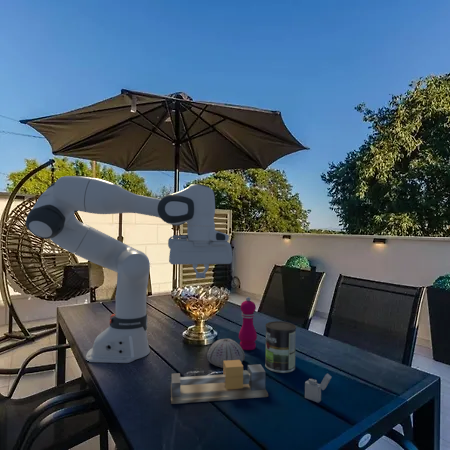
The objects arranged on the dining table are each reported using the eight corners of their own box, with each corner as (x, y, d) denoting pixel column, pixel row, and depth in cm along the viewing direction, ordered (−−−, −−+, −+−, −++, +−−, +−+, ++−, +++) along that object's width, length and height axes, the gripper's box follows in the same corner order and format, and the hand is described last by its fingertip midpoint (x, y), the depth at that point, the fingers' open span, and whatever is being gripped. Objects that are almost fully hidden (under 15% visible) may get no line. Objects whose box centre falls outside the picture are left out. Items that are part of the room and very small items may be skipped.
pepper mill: (255, 351, 127) (256, 299, 127) (237, 349, 128) (237, 298, 128) (257, 344, 134) (258, 295, 134) (240, 343, 135) (240, 294, 135)
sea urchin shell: (239, 354, 124) (240, 332, 124) (248, 369, 111) (248, 345, 111) (204, 356, 122) (205, 334, 122) (209, 372, 109) (209, 347, 109)
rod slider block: (171, 403, 89) (171, 381, 89) (171, 386, 99) (171, 366, 99) (268, 396, 93) (268, 375, 93) (258, 380, 103) (259, 361, 103)
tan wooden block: (225, 389, 94) (226, 367, 94) (223, 381, 98) (223, 360, 98) (243, 388, 95) (243, 366, 95) (239, 380, 99) (239, 359, 99)
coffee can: (275, 375, 107) (275, 331, 107) (259, 363, 116) (260, 322, 116) (301, 370, 111) (302, 328, 111) (284, 358, 120) (284, 319, 120)
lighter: (304, 397, 93) (304, 369, 93) (307, 395, 94) (307, 367, 94) (329, 406, 88) (329, 376, 88) (331, 404, 90) (332, 374, 90)
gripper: (168, 235, 101) (167, 280, 101) (233, 235, 105) (233, 279, 105) (168, 234, 108) (167, 277, 107) (230, 235, 111) (229, 276, 111)
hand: (200, 278), depth 106 cm, fingers closed
